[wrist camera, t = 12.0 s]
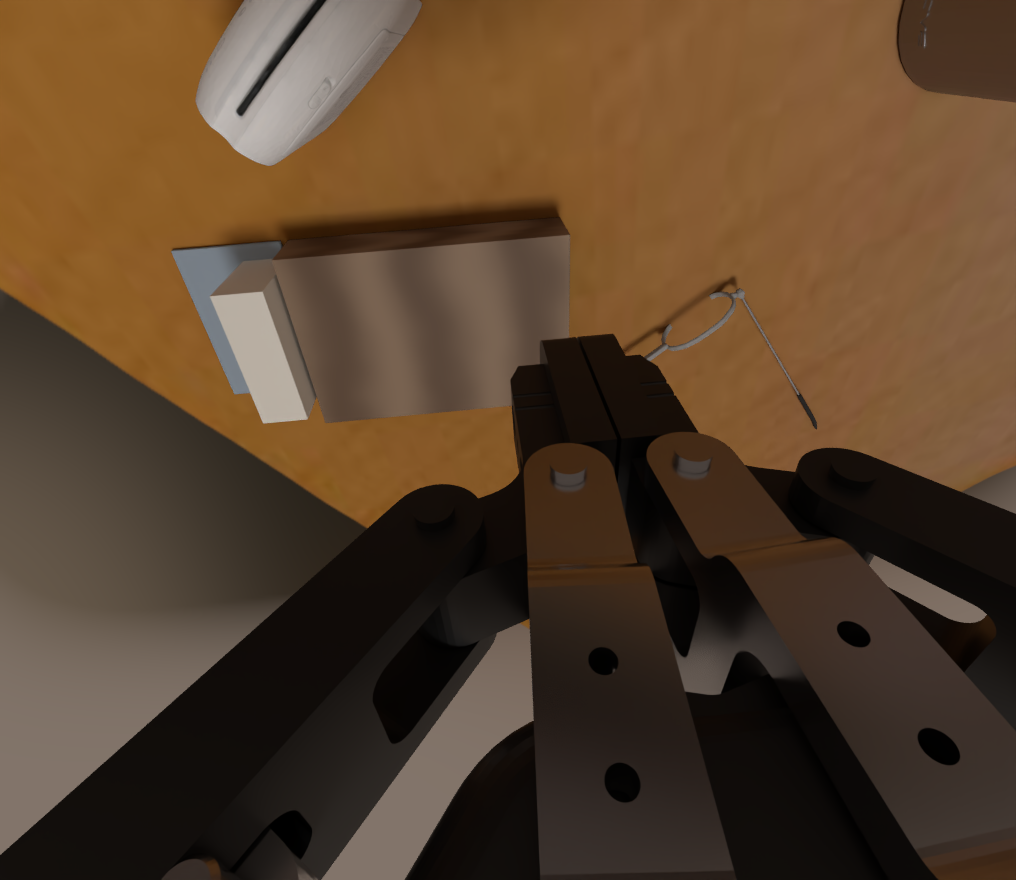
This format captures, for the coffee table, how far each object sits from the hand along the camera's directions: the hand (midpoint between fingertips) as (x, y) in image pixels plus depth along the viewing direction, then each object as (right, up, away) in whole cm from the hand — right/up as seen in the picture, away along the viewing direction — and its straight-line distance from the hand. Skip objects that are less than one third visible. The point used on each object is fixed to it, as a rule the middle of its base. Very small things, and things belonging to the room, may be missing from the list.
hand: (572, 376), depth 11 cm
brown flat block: (-7, +8, +27) cm, 29 cm away
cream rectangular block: (-17, +5, +24) cm, 30 cm away
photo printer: (-10, +20, +18) cm, 29 cm away
